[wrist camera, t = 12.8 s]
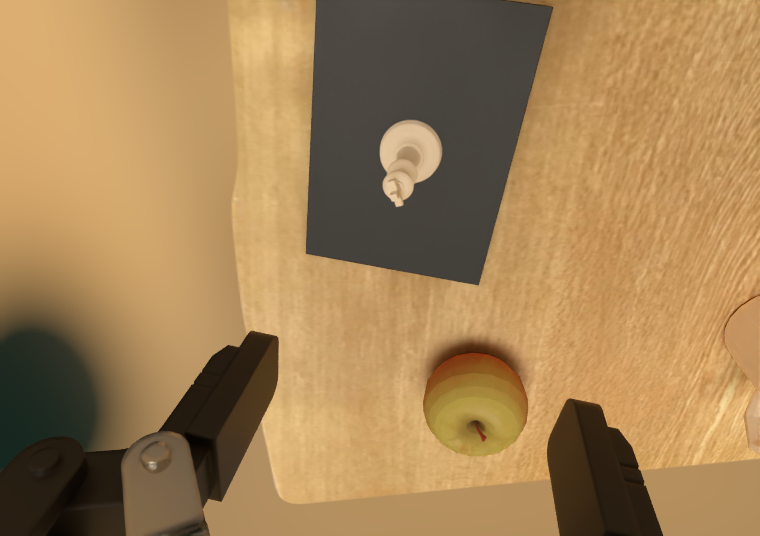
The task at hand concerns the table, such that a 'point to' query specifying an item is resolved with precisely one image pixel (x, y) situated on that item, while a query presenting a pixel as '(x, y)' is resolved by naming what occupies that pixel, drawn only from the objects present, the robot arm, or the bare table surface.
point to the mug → (747, 360)
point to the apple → (475, 404)
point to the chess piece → (408, 157)
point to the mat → (422, 103)
